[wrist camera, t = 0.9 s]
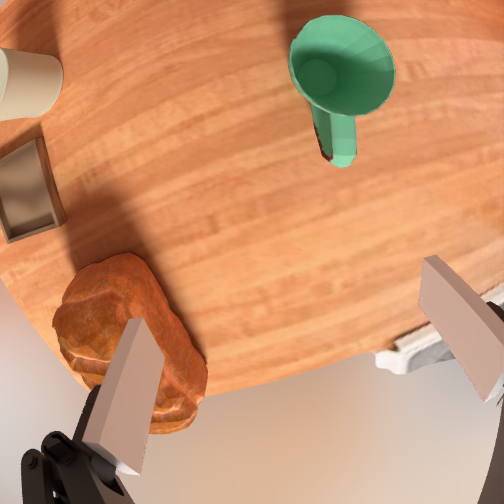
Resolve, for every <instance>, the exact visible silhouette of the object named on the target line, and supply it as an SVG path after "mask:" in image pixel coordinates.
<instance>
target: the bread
mask: <svg viewBox="0 0 504 504" xmlns="http://www.w3.org/2000/svg"><path fill="white" fill-rule="evenodd" d="M141 317H143V318H144V320H145V322H146V324H147V326H148V328H149V330H150V332H151V333H152V335H153V337H154V339H155V341H156V343H157V344H158V346H159V348H160V350H161V351H162V353H163V355H164V357H165V361H164V365H163V369H162V374H161V378H160V382H159V386H158V391H157V395H156V400H155V404H154V409H153V414H152V418H151V423H150V428H149V433H148V434H170V433H173V432H176V431H180V430H183V429H186V428H188V427H189V425H190V424H191V423H192V422H193V421H194V419H195V416H196V413H197V410H198V406H197V405H198V404H199V403H200V401H201V400H202V399H203V398H204V396H205V390H206V384H207V377H208V369H207V367H206V365H205V363H204V360H203V358H202V356H201V355H200V354H199V352H198V351H197V350H196V349H195V347H194V346H193V345H192V343H191V340H190V337H189V335H188V333H187V331H186V330H185V328H184V326H183V325H182V323H181V321H180V320H179V318H178V316H176V315H175V314H174V313H173V312H172V311H171V309H170V306H169V303H168V300H167V298H166V296H165V294H164V293H163V291H162V289H161V287H160V285H159V284H158V282H157V280H156V278H155V277H154V275H153V273H152V272H151V270H150V269H149V267H148V266H147V264H146V262H145V261H144V260H142V259H141V258H139V257H138V256H136V255H134V254H132V253H130V252H128V253H123V254H119V255H115V256H112V257H110V258H108V259H106V260H104V261H102V262H100V263H91V264H90V265H88V266H86V267H84V268H83V269H81V270H79V272H78V273H77V275H76V276H75V277H74V279H73V280H72V281H71V283H70V284H69V286H68V287H67V289H66V291H65V293H64V295H63V297H62V305H61V306H60V307H59V308H58V309H57V311H56V313H55V315H54V317H53V322H52V327H53V328H54V329H55V330H56V333H57V336H58V342H59V344H60V351H61V353H62V355H63V356H64V358H65V359H66V361H67V363H68V364H69V366H70V367H71V368H72V370H73V371H75V372H77V373H79V374H81V376H82V379H83V381H84V382H85V384H86V385H87V386H88V387H89V388H90V389H91V391H92V389H93V388H94V387H95V386H96V385H102V383H103V380H104V378H105V375H106V372H107V370H108V367H109V365H110V362H111V360H112V358H113V355H114V353H115V350H116V348H117V346H118V343H119V341H120V339H121V336H122V334H123V332H124V329H125V327H126V325H127V323H128V320H129V319H134V318H141Z"/></svg>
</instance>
